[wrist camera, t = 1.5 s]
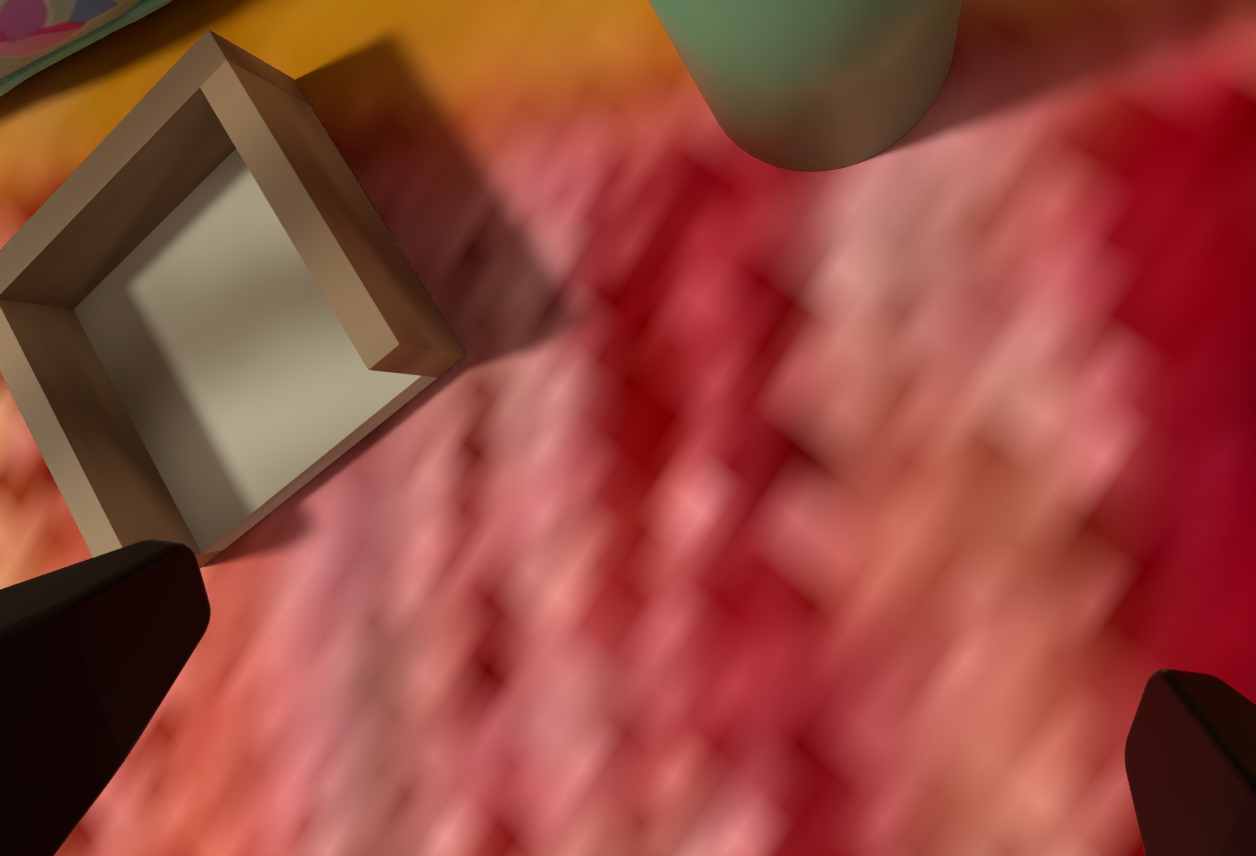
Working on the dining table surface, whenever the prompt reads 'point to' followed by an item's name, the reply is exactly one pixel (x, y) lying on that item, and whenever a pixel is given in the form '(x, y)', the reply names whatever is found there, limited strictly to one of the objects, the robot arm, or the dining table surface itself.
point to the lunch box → (57, 31)
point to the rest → (208, 311)
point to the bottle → (815, 71)
